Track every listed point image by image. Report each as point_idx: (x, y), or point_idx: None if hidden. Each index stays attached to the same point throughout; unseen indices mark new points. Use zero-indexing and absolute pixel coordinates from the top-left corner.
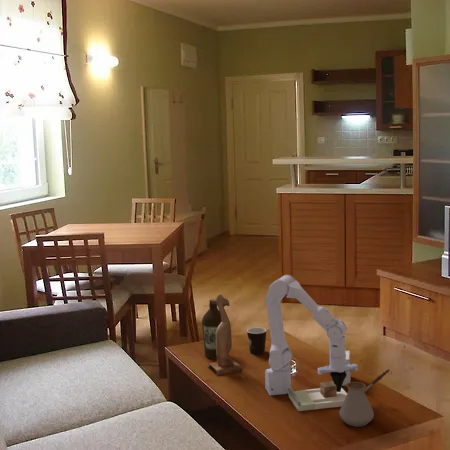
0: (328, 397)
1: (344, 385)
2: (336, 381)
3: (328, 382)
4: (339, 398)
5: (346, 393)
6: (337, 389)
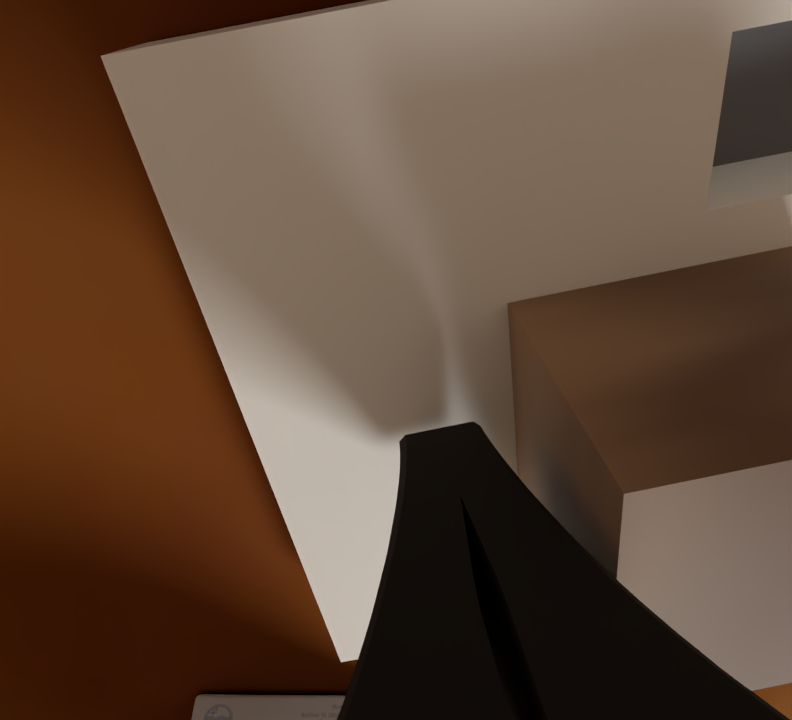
0: (701, 261)
1: (265, 698)
2: (676, 676)
3: (729, 668)
4: (471, 180)
5: (261, 433)
6: (500, 457)
